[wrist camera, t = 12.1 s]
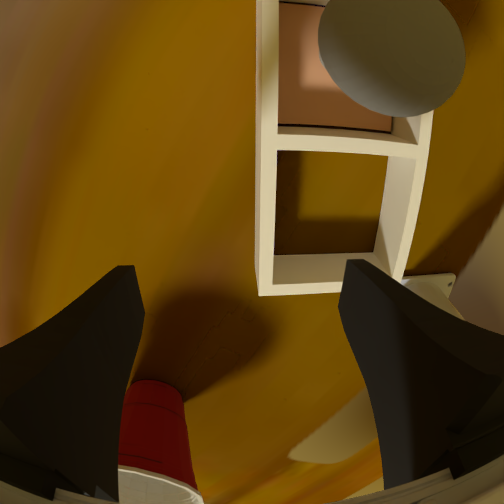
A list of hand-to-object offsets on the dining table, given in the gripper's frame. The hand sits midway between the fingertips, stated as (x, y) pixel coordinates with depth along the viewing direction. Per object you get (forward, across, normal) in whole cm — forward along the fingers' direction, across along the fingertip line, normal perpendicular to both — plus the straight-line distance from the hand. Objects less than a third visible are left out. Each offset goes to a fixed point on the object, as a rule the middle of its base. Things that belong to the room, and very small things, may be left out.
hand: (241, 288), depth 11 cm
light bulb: (+10, -6, -9) cm, 15 cm away
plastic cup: (+11, +9, +21) cm, 25 cm away
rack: (+10, -6, -8) cm, 14 cm away
